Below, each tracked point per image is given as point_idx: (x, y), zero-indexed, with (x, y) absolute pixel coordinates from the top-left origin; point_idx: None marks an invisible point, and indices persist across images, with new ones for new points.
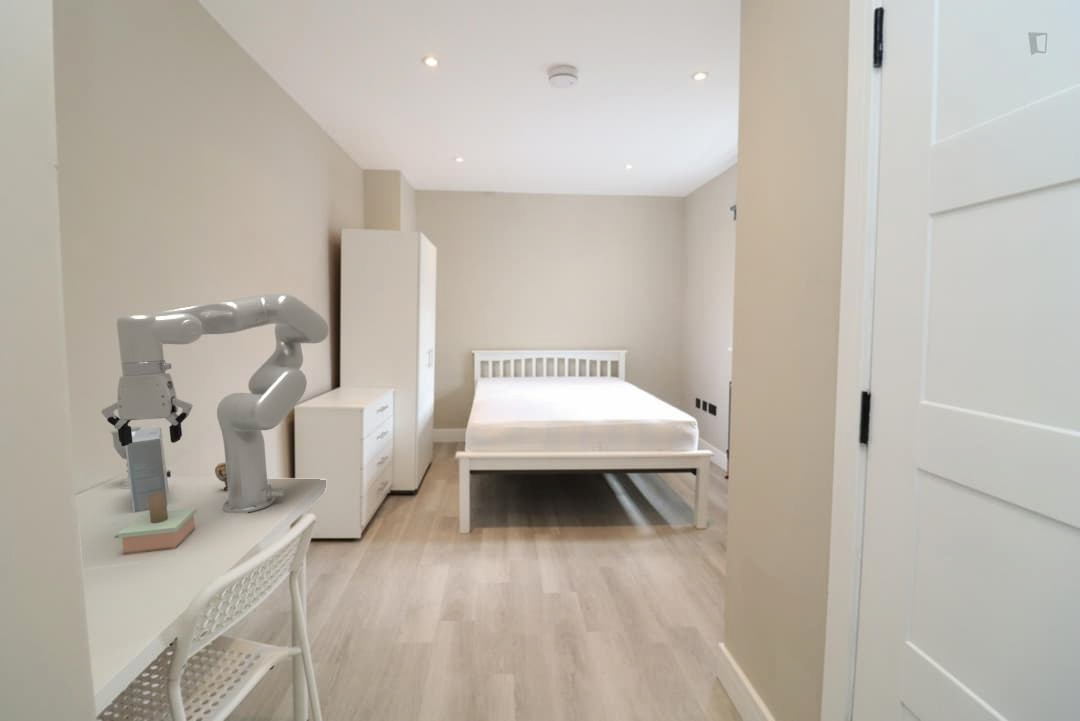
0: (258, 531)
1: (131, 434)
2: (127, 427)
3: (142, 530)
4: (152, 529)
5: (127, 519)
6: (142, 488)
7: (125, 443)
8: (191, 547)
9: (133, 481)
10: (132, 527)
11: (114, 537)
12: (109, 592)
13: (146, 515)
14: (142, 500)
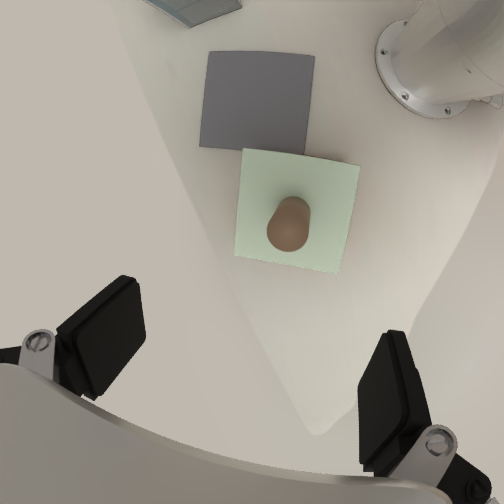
0: (454, 232)
1: (111, 308)
2: (80, 360)
3: (276, 259)
4: (295, 264)
5: (186, 51)
6: (182, 2)
7: (140, 343)
8: (356, 250)
9: (157, 1)
10: (249, 233)
11: (200, 146)
12: (275, 343)
13: (253, 165)
14: (193, 13)
